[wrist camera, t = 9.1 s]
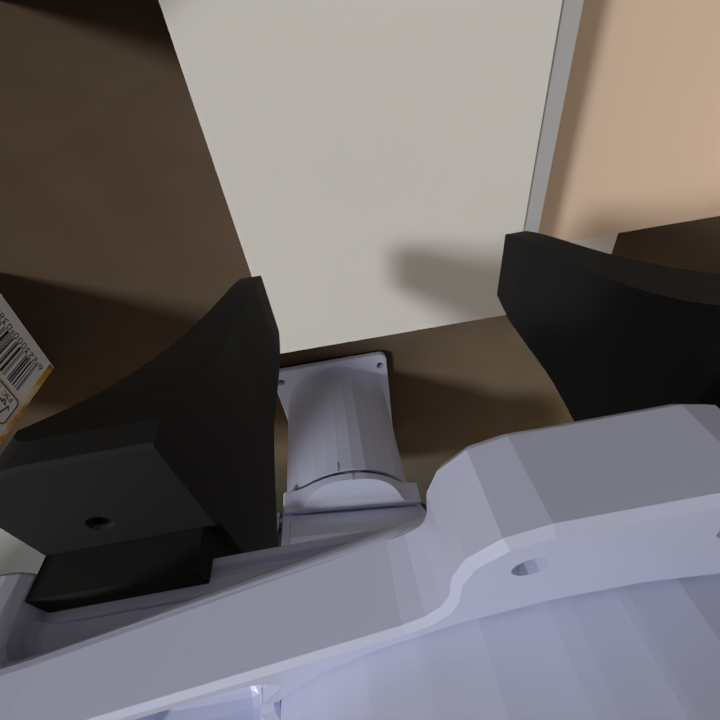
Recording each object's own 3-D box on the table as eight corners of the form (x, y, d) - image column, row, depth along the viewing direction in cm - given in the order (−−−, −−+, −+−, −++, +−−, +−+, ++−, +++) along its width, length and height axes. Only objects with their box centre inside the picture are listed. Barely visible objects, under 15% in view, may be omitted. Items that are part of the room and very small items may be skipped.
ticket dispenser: (601, 247, 24) (659, 288, 20) (280, 301, 23) (278, 354, 19) (711, -101, 14) (859, -149, 11) (184, -22, 14) (144, -42, 10)
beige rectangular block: (730, 206, 21) (838, 249, 17) (441, 255, 21) (478, 311, 17) (865, -54, 15) (1093, -89, 11) (448, 11, 14) (511, 1, 10)
